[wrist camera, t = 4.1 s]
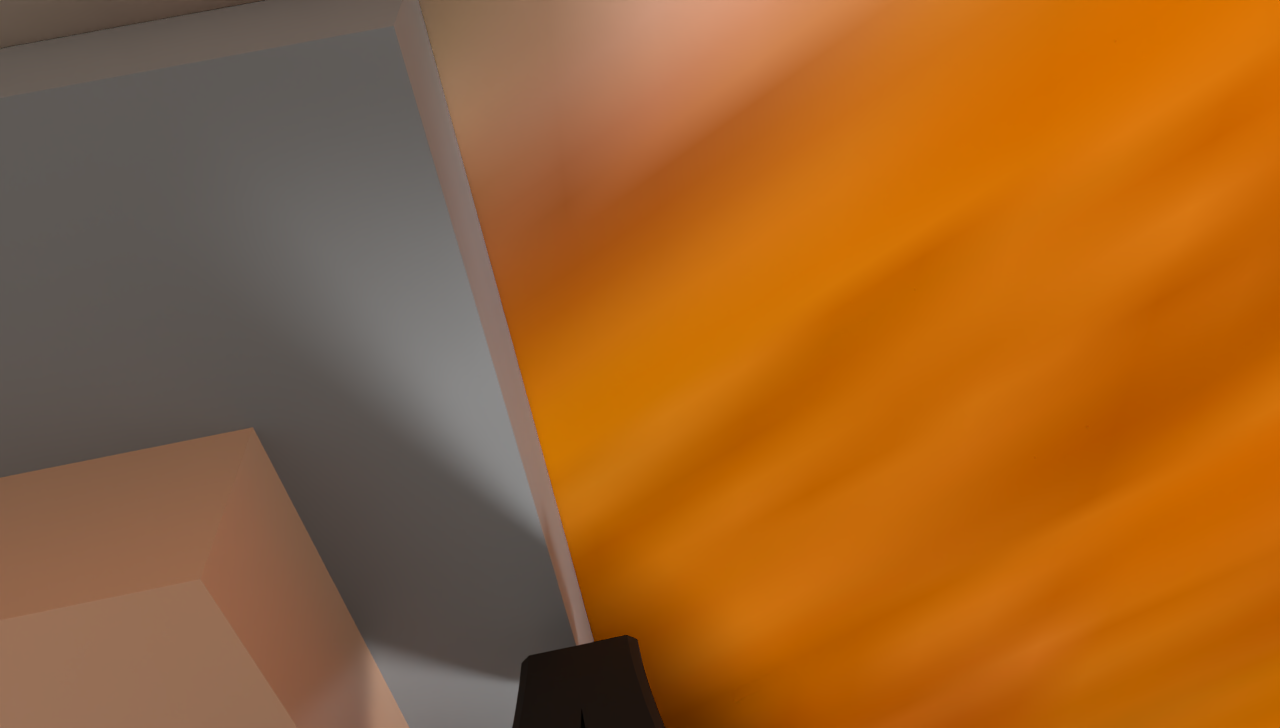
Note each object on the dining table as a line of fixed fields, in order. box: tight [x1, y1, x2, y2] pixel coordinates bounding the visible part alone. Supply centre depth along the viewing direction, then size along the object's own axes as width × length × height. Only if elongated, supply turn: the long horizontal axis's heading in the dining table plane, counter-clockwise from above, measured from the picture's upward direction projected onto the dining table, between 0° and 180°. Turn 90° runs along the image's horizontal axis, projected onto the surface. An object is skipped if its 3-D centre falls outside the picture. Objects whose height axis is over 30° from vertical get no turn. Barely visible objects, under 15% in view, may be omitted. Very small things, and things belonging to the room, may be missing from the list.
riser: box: [0, 0, 594, 728], centre depth 12 cm, size 16×12×2 cm
